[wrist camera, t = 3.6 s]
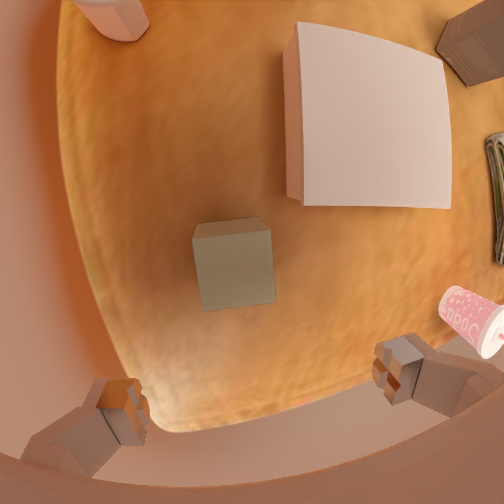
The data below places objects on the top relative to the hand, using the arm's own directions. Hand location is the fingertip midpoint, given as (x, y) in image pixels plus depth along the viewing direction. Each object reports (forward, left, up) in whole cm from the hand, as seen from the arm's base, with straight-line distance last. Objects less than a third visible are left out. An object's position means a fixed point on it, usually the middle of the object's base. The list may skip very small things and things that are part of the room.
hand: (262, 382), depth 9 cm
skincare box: (-22, +29, -17) cm, 40 cm away
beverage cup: (+10, +26, -17) cm, 32 cm away
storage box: (-10, +12, -17) cm, 23 cm away
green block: (0, 0, -17) cm, 17 cm away
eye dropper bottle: (-22, -8, -17) cm, 29 cm away
